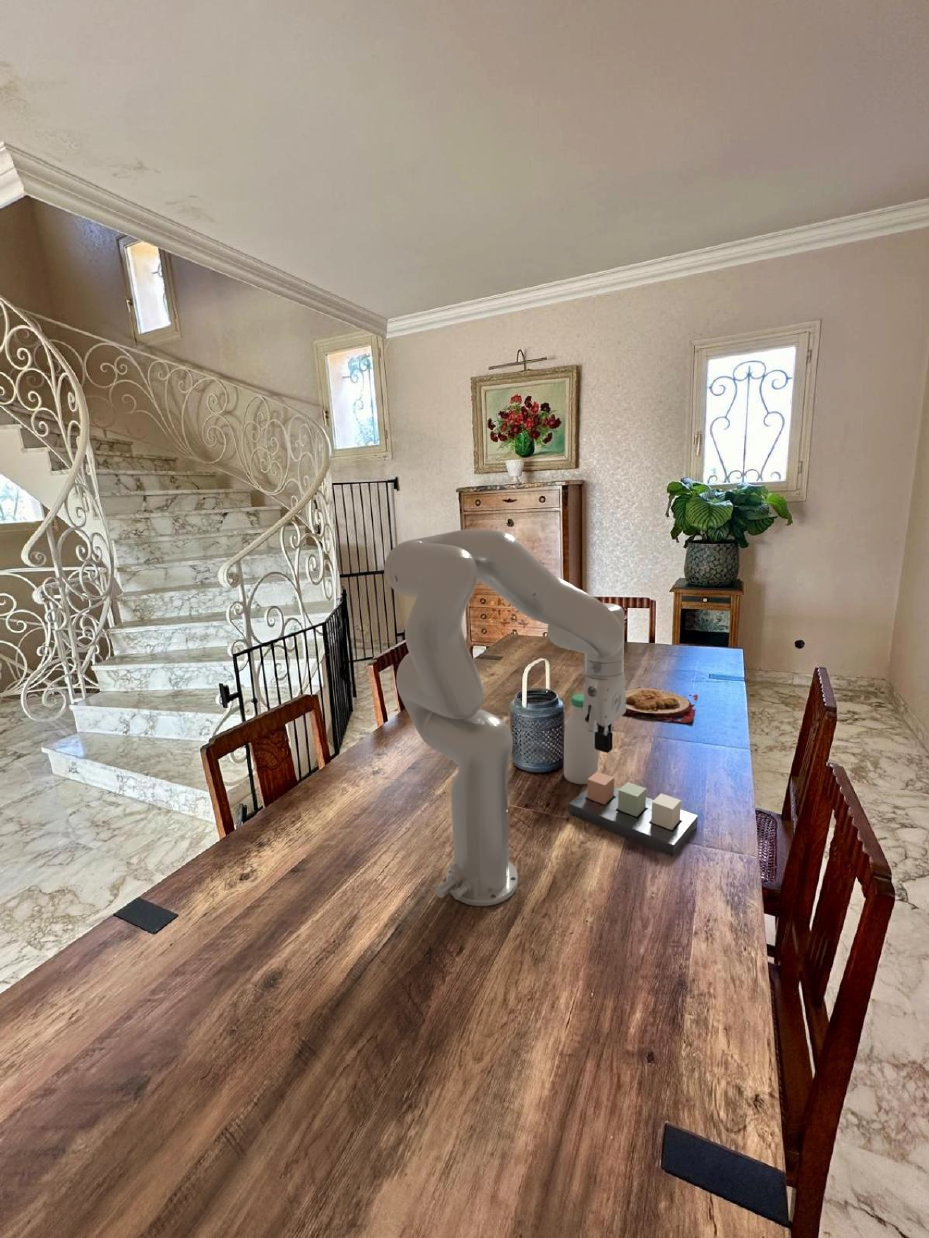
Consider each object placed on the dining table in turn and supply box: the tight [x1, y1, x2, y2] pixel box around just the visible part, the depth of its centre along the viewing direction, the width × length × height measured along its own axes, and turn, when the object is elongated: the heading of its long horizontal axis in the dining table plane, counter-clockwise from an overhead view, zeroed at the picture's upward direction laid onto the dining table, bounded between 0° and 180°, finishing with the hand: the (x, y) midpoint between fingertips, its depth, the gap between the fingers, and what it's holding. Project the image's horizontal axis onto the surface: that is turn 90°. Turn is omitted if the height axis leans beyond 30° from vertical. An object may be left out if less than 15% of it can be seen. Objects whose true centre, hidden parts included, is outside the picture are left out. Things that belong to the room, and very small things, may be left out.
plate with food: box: [622, 686, 699, 724], centre depth 173 cm, size 24×26×4 cm
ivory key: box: [651, 793, 682, 831], centre depth 108 cm, size 4×4×4 cm
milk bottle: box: [563, 693, 599, 785], centre depth 129 cm, size 8×8×20 cm
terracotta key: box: [586, 771, 615, 806], centre depth 118 cm, size 4×4×4 cm
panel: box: [568, 785, 698, 858], centre depth 114 cm, size 12×22×3 cm, turn 48°
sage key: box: [618, 781, 647, 818], centre depth 113 cm, size 4×4×4 cm
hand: (603, 749), depth 116 cm, fingers closed
